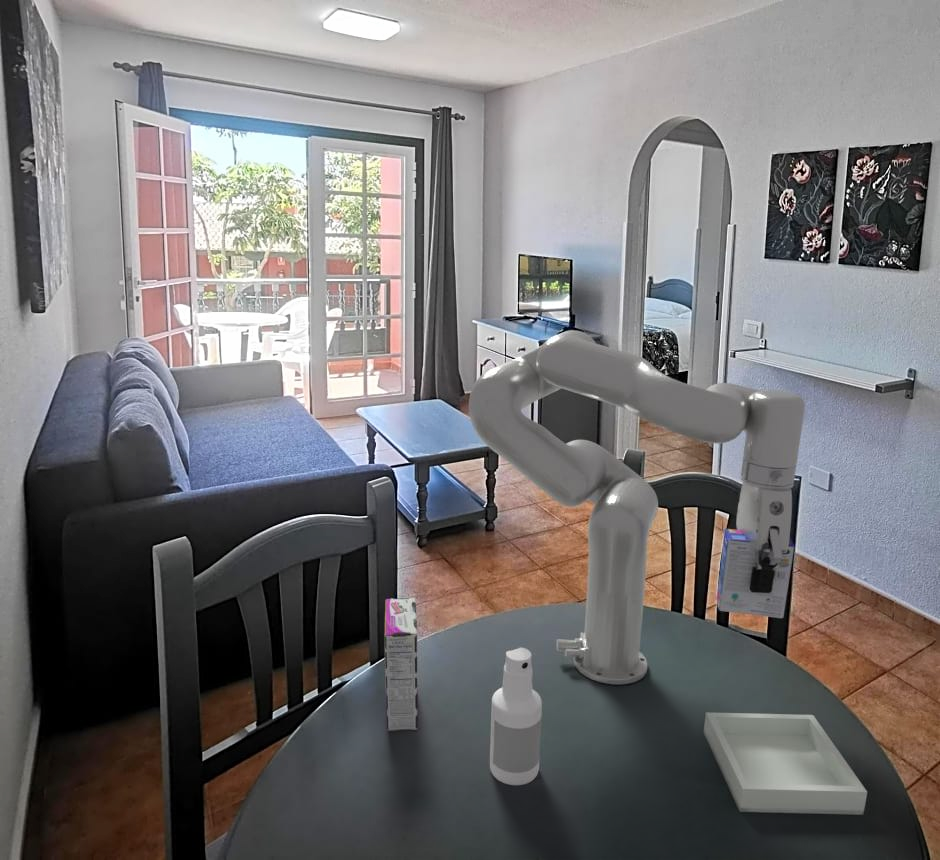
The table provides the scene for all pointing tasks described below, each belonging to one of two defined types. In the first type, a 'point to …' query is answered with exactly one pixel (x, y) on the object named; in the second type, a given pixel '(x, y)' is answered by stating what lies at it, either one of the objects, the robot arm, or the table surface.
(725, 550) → the ink cartridge box
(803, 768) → the tray
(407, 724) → the candy bar box
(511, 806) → the table surface
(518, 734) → the spray bottle
